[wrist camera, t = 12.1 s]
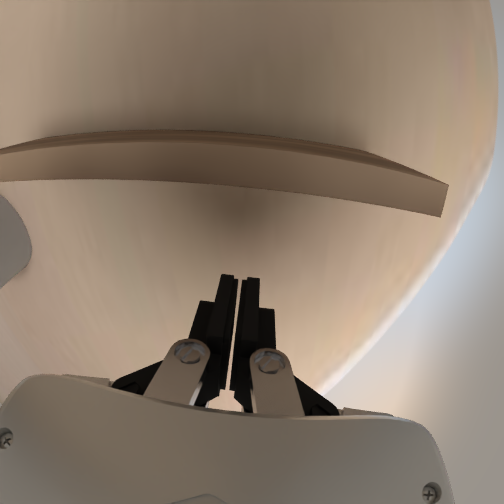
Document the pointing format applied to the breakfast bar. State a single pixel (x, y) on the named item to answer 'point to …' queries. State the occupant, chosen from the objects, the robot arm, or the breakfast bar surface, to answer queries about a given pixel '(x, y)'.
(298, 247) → the breakfast bar surface
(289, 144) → the wooden panel
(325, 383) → the breakfast bar surface
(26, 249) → the lumpy-topped squat cylinder
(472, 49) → the breakfast bar surface
